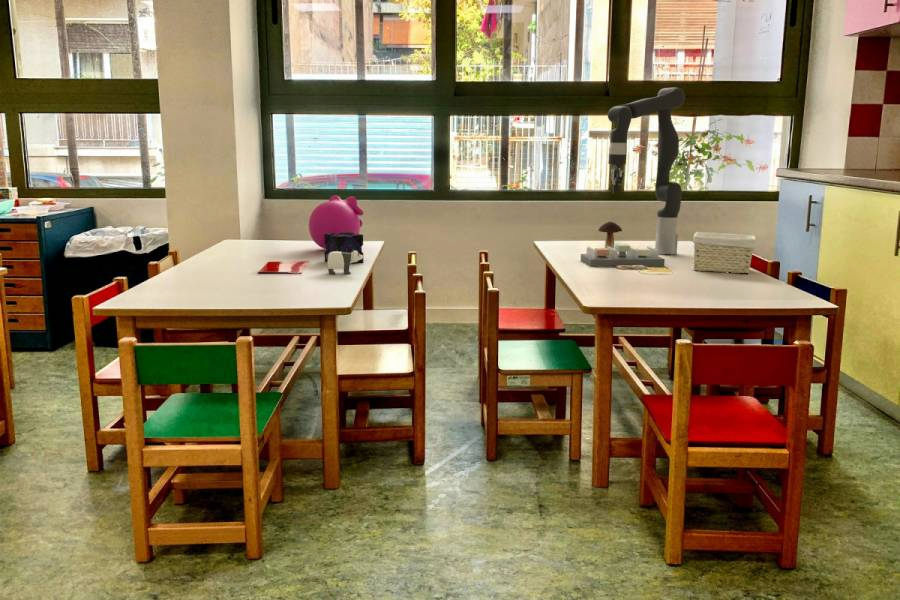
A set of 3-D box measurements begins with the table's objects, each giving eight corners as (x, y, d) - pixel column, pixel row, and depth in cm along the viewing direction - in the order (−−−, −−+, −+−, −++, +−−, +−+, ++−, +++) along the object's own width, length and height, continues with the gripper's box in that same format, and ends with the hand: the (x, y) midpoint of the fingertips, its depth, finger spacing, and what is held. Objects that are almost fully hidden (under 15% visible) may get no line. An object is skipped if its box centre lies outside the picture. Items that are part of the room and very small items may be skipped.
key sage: (625, 254, 336) (626, 244, 335) (629, 256, 332) (630, 245, 331) (614, 254, 336) (615, 244, 335) (618, 256, 331) (618, 245, 330)
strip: (643, 267, 324) (643, 264, 324) (647, 269, 320) (647, 266, 320) (615, 267, 323) (615, 265, 323) (619, 269, 319) (619, 266, 319)
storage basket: (752, 269, 324) (755, 234, 320) (753, 275, 309) (756, 238, 306) (692, 265, 331) (694, 231, 328) (690, 271, 316) (693, 235, 313)
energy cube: (338, 265, 321) (337, 236, 319) (324, 261, 331) (324, 233, 328) (363, 263, 328) (363, 234, 326) (349, 259, 338) (349, 231, 335)
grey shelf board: (651, 260, 344) (652, 245, 342) (664, 266, 328) (665, 251, 327) (580, 260, 341) (581, 245, 339) (590, 266, 325) (591, 251, 324)
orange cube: (605, 258, 336) (606, 248, 335) (608, 260, 331) (609, 249, 330) (594, 258, 335) (594, 248, 334) (597, 260, 330) (598, 249, 330)
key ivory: (645, 258, 338) (646, 248, 337) (649, 260, 333) (650, 249, 332) (634, 258, 337) (635, 248, 336) (638, 260, 332) (639, 249, 331)
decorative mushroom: (607, 256, 355) (609, 223, 352) (592, 252, 364) (593, 220, 361) (625, 254, 360) (627, 222, 357) (610, 251, 369) (612, 220, 366)
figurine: (371, 249, 367) (370, 196, 362) (338, 255, 347) (337, 199, 342) (333, 245, 379) (332, 193, 374) (299, 251, 359) (297, 196, 354)
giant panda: (326, 275, 298) (325, 250, 296) (325, 272, 304) (325, 248, 302) (364, 274, 301) (364, 249, 299) (363, 271, 306) (362, 247, 304)
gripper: (631, 153, 332) (628, 194, 336) (621, 153, 345) (619, 192, 349) (613, 153, 332) (611, 194, 335) (604, 153, 344) (602, 192, 348)
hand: (615, 193), depth 342 cm, fingers closed
